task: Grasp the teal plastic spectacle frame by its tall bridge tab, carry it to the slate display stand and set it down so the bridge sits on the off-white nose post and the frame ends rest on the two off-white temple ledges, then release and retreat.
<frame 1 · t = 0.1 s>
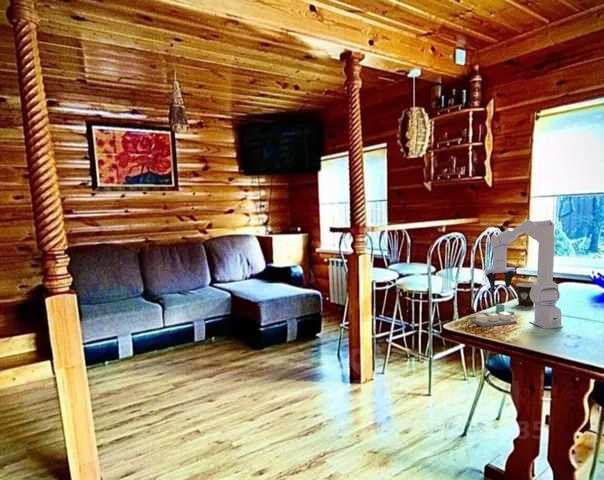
hand: (500, 287, 190), 10 cm above the table, fingers open, 7 cm apart
display stand: (493, 322, 170), on the table
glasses: (500, 315, 180), on the table
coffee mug: (528, 306, 192), on the table
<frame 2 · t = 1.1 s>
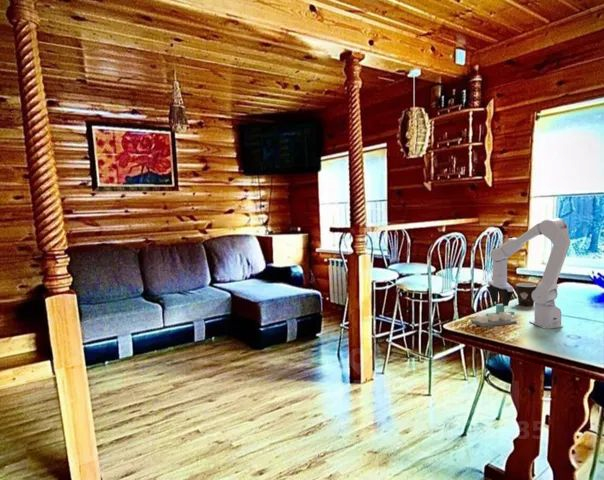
hand: (499, 303, 179), 5 cm above the table, fingers open, 7 cm apart
nothing on the table moved.
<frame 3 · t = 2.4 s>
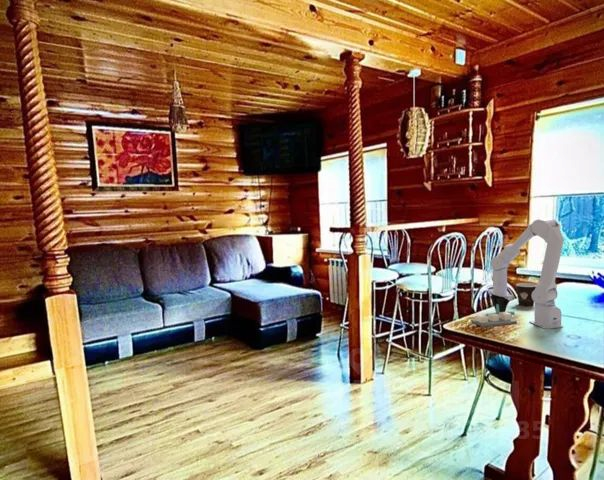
hand: (500, 312, 180), 1 cm above the table, fingers closed on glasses, 2 cm apart
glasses: (500, 315, 180), on the table, touching gripper
everything else where it was.
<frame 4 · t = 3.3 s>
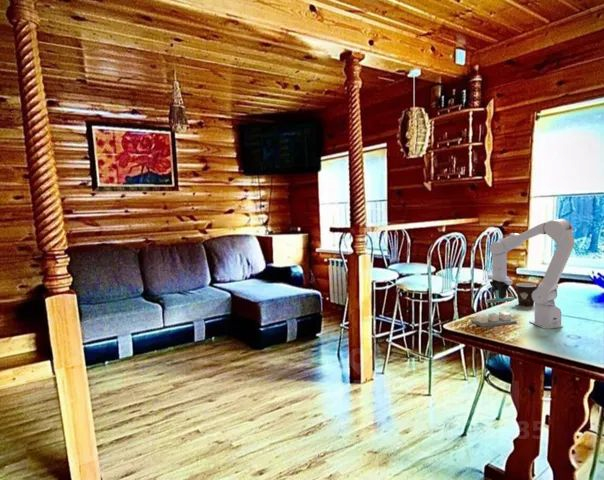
hand: (499, 297, 179), 8 cm above the table, fingers closed on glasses, 2 cm apart
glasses: (499, 301, 179), point 7 cm above the table, touching gripper
everything else where it was.
when the fingers open (6 cm above the table, at t = 4.6 s): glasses stays where it is, resting on display stand.
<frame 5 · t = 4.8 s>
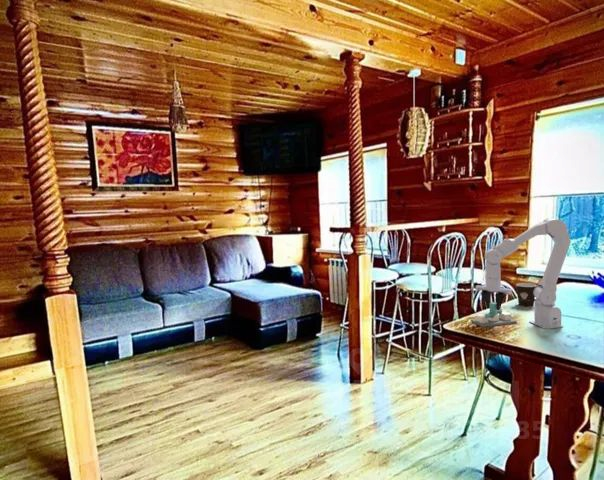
hand: (493, 308, 170), 6 cm above the table, fingers open, 4 cm apart
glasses: (493, 314, 170), point 3 cm above the table, touching display stand
everything else where it was.
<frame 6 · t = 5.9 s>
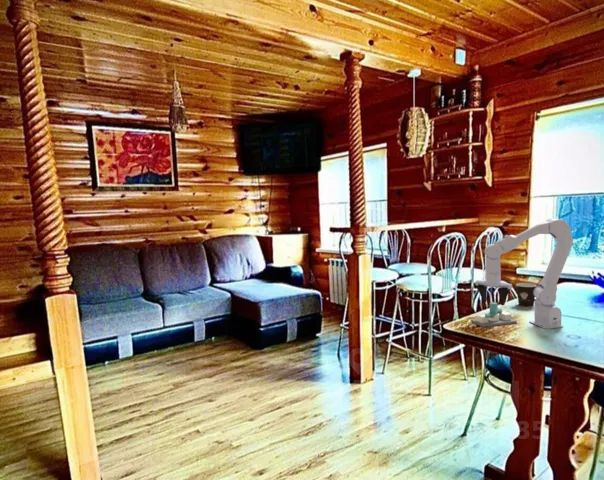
hand: (493, 303, 170), 8 cm above the table, fingers open, 7 cm apart
nothing on the table moved.
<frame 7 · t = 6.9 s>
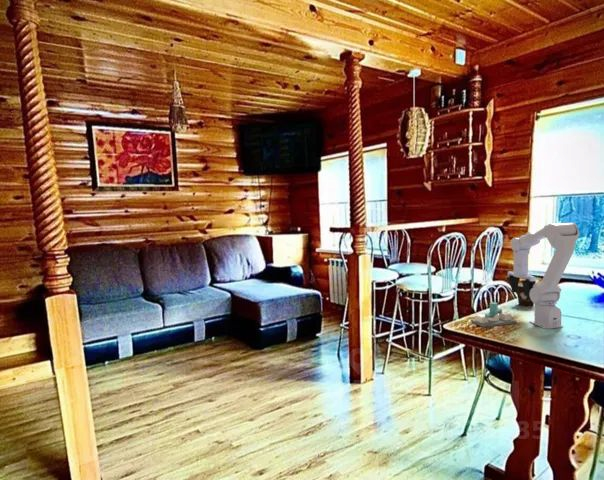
hand: (520, 294, 178), 9 cm above the table, fingers open, 7 cm apart
nothing on the table moved.
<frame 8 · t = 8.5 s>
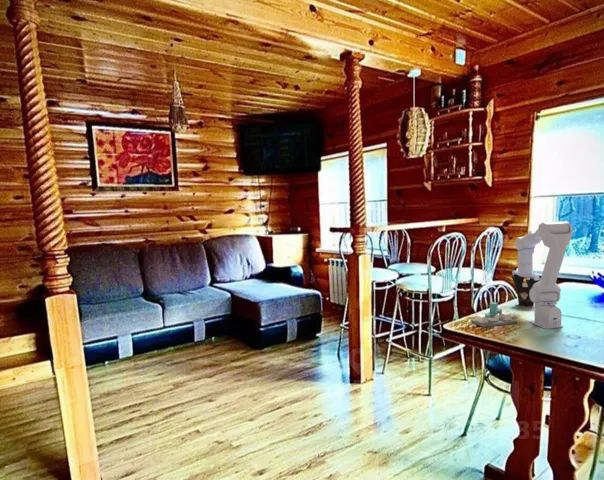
hand: (525, 293, 180), 9 cm above the table, fingers open, 7 cm apart
nothing on the table moved.
at the end: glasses 0.1 cm off-centre on the display stand, point 3.5 cm above the display stand's base; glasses tilted 0°; the gripper is holding nothing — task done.
